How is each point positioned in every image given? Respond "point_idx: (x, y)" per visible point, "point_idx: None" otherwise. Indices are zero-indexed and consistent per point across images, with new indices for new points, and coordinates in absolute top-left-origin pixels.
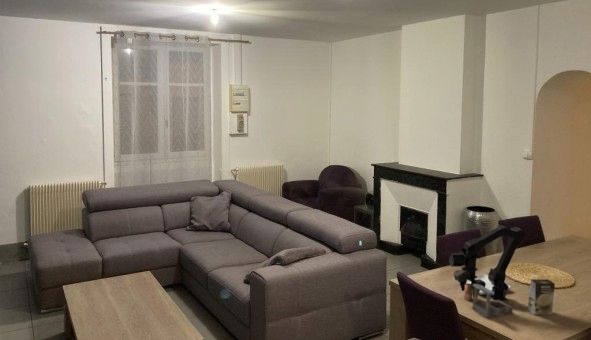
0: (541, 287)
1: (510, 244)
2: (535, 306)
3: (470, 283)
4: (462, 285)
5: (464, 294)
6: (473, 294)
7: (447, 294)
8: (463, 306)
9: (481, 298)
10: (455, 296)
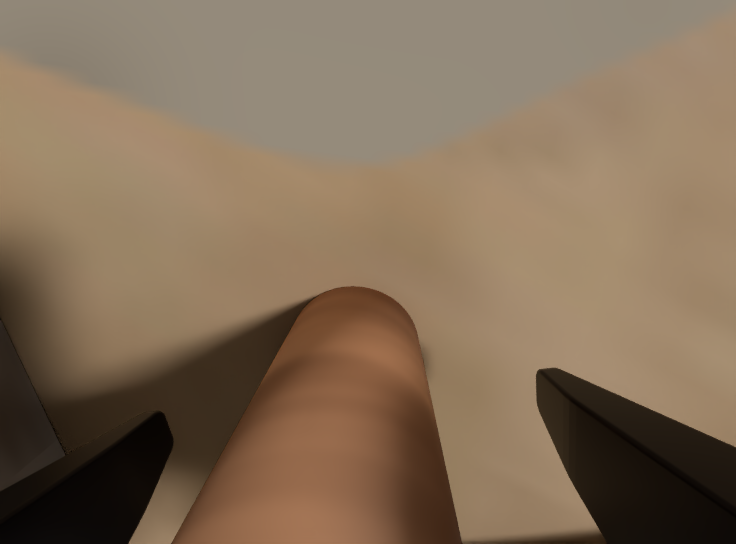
0: None
1: None
2: None
3: None
4: (644, 487)
5: (366, 327)
6: (53, 466)
7: (666, 67)
8: (66, 118)
9: None
10: (520, 192)
